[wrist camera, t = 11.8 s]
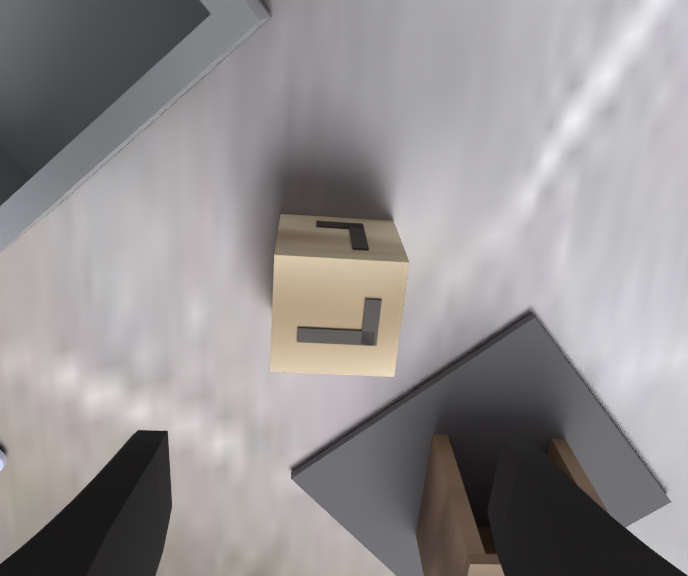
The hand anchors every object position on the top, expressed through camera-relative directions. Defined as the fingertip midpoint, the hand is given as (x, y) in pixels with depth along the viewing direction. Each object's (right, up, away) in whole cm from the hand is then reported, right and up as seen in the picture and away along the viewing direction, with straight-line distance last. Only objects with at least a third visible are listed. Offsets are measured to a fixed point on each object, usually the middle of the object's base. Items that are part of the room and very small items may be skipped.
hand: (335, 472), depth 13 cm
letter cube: (0, +5, +9) cm, 11 cm away
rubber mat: (+6, -5, +14) cm, 16 cm away
